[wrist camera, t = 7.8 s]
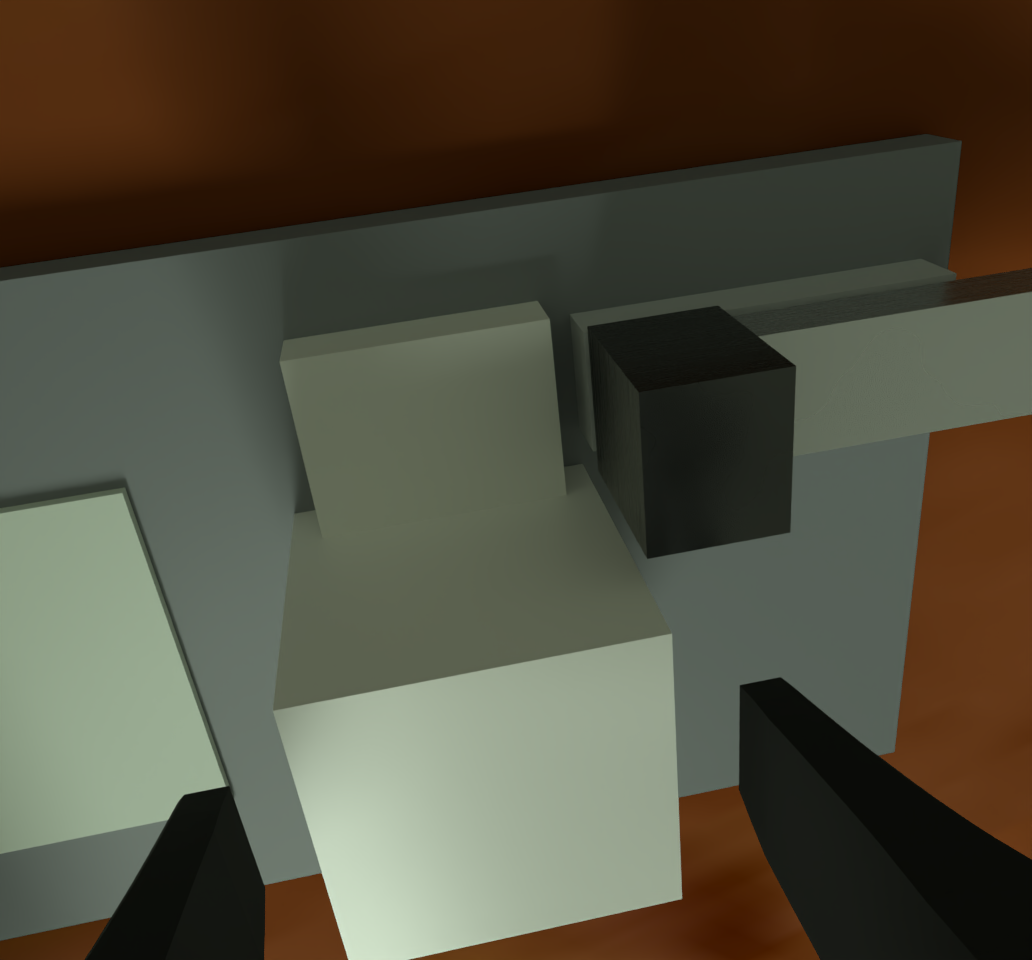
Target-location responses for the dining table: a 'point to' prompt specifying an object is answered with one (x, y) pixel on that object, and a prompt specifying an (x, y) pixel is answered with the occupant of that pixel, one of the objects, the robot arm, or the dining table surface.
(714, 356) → the bolt
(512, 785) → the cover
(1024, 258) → the dining table surface
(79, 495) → the housing plate
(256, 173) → the dining table surface
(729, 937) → the dining table surface
